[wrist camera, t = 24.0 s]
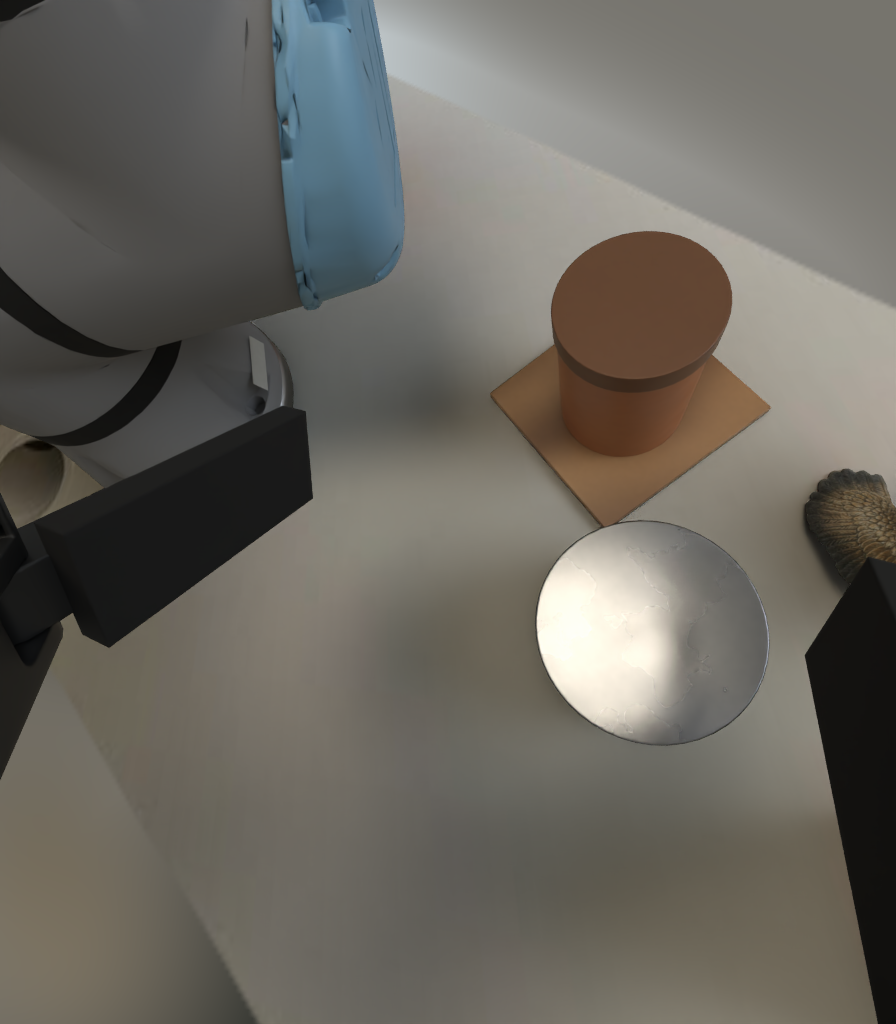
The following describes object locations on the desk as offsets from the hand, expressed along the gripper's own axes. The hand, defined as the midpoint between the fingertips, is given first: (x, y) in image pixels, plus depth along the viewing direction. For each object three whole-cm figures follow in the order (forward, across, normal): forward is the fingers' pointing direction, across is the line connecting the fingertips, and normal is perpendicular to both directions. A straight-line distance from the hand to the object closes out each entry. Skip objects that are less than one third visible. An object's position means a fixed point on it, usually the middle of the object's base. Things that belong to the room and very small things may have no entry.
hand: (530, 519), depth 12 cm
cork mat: (+20, 0, -4) cm, 21 cm away
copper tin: (+20, 0, -3) cm, 20 cm away
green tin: (+12, +4, -12) cm, 17 cm away
